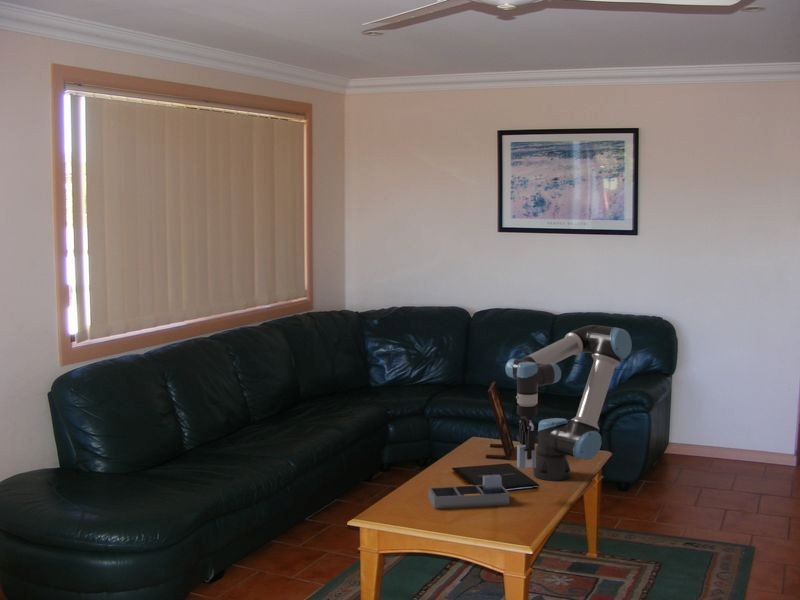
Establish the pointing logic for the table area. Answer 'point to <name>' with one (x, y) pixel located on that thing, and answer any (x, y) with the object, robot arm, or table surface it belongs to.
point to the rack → (470, 494)
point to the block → (522, 457)
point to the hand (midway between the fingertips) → (527, 465)
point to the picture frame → (500, 423)
